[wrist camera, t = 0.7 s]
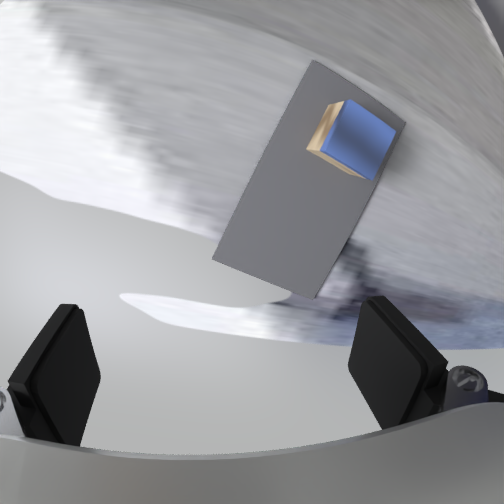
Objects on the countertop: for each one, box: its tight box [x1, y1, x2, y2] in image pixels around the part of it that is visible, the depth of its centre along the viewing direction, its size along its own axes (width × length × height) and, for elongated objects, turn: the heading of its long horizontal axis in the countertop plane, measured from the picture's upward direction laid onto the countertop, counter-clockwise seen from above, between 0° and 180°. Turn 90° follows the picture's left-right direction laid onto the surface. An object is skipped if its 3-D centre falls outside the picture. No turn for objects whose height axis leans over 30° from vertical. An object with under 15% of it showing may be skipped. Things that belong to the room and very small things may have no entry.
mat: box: [212, 60, 405, 300], centre depth 36 cm, size 26×14×1 cm, turn 154°
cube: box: [306, 99, 396, 181], centre depth 31 cm, size 6×6×6 cm
